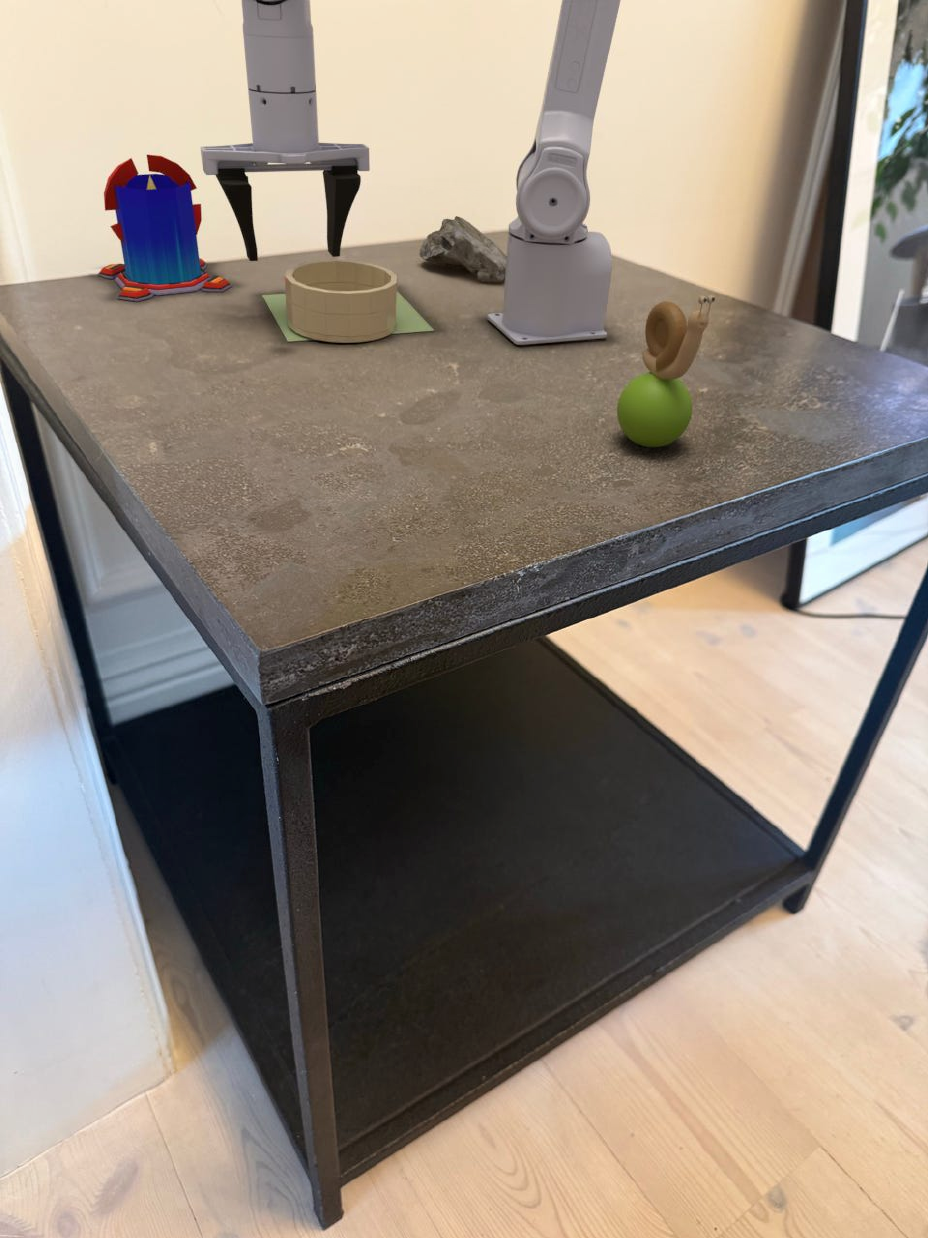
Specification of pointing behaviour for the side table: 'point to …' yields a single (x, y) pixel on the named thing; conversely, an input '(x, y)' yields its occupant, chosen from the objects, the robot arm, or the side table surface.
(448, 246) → the grey rock
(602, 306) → the robot arm
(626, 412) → the snail figurine
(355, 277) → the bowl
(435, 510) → the side table surface
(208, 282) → the fantasy tower
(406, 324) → the mat
